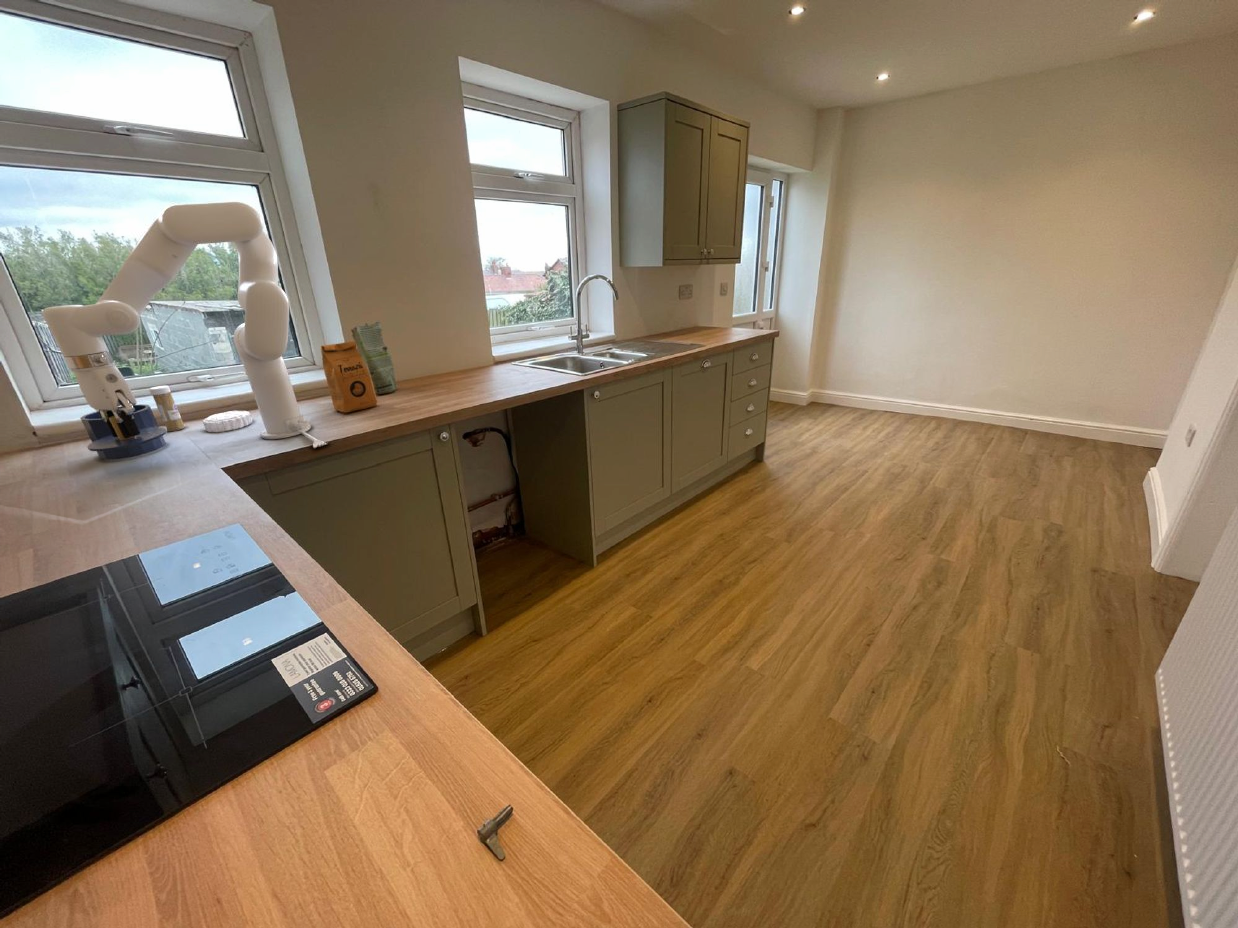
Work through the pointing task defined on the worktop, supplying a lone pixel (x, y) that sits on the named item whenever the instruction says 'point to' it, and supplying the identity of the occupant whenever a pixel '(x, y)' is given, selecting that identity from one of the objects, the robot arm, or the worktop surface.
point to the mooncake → (227, 421)
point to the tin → (100, 430)
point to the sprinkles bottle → (167, 408)
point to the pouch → (375, 357)
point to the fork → (314, 440)
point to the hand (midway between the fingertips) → (126, 435)
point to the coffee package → (347, 377)
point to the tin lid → (121, 442)
